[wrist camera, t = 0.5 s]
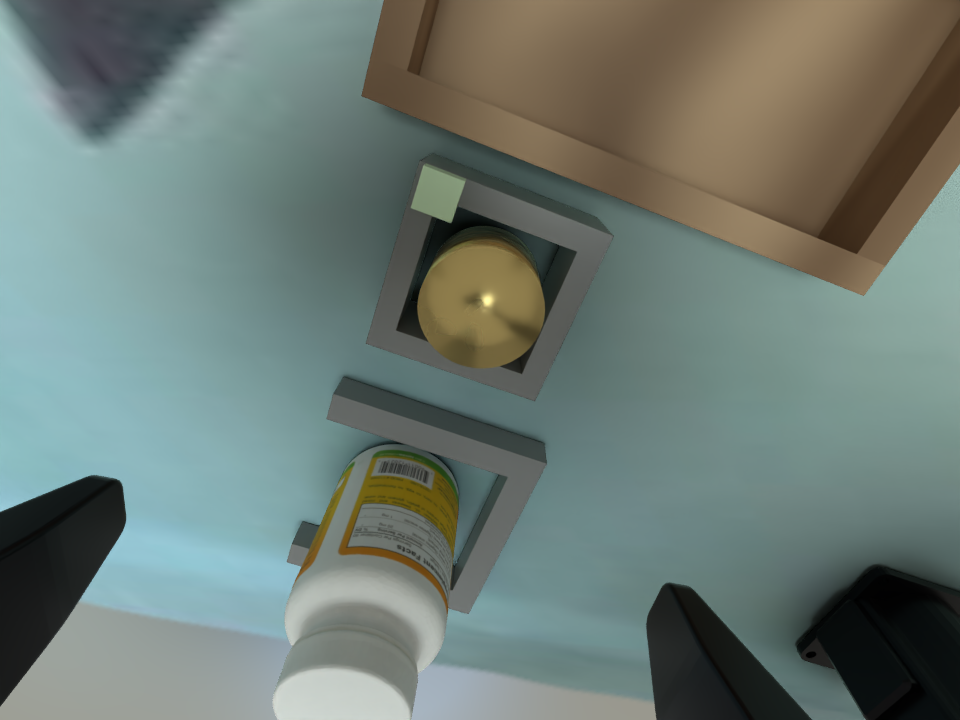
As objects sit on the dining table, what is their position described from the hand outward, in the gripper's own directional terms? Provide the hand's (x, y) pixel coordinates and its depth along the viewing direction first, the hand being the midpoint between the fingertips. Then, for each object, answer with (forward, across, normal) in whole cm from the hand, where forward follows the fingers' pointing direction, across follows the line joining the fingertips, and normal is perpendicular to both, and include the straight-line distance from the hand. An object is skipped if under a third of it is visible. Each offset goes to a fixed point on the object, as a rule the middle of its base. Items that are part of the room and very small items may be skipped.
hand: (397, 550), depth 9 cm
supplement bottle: (+12, +1, +9) cm, 15 cm away
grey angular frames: (+12, 0, +4) cm, 13 cm away
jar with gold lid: (+11, -1, -2) cm, 11 cm away
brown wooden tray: (+12, -5, -10) cm, 16 cm away
